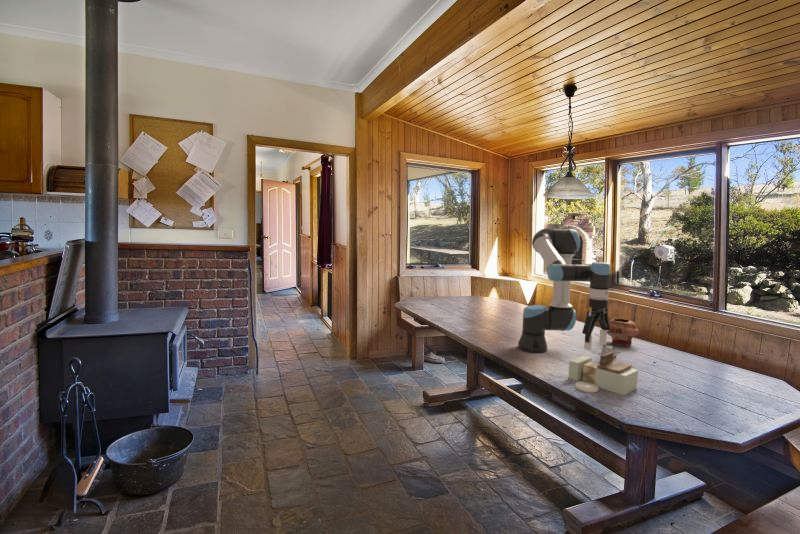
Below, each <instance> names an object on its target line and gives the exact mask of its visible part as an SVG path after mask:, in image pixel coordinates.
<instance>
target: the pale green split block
mask: <svg viewBox="0 0 800 534" xmlns="http://www.w3.org/2000/svg"><path fill="white" fill-rule="evenodd" d="M589 362H592V356H591V357H590V356H586V355H581V356H579V357H576V358H573V359H570V360H569V367H568V376H567V377H568V379H570V380H573V381H576V382H579V381H580V380H583V367H584V364H587V363H589ZM638 377H639V369H636V368H632V367H631V368H629V369H627V370H625V371H623V372H621V373H615V372H612V371H608V370H604V369H601V368H596V380H595V384H596V385H597V386H599V389H602V390H605V391H609V392H613V393H615V394H619V395H622V396H626V395H628V394H629V393H631V392H633V391H634V390H637V387H638Z"/></svg>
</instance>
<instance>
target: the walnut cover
mask: <svg viewBox="0 0 800 534" xmlns="http://www.w3.org/2000/svg"><path fill="white" fill-rule="evenodd" d="M613 354H614V352H608V353H606V354H603V355H601V354H600V358H599V359H600V361H599V363H598V364H599V365H597V368H601V369H604V370H608V371H612V372H615V373H621V372H623V371H625V370H627V369H629V368H632V364H628V363H624V362H621V361H617V360H615V361H614V360H613Z"/></svg>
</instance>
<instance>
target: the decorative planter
mask: <svg viewBox="0 0 800 534" xmlns="http://www.w3.org/2000/svg"><path fill="white" fill-rule="evenodd" d="M609 323H610V330H607V336H610V337H611V340H612V342H611V344H614V345H618V346H622V347H623V346H624V347H625V346H626V347H628V346H629V347H630V346H631V345H632V343H633V342H632V341H633V340H632V339H633V337H636V336H637V335H639V333H640V330H639V329H638V328H637V324H636V323H635V322H634V321H632V320H629V319H623V318H613V319H611V320H609Z"/></svg>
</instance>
